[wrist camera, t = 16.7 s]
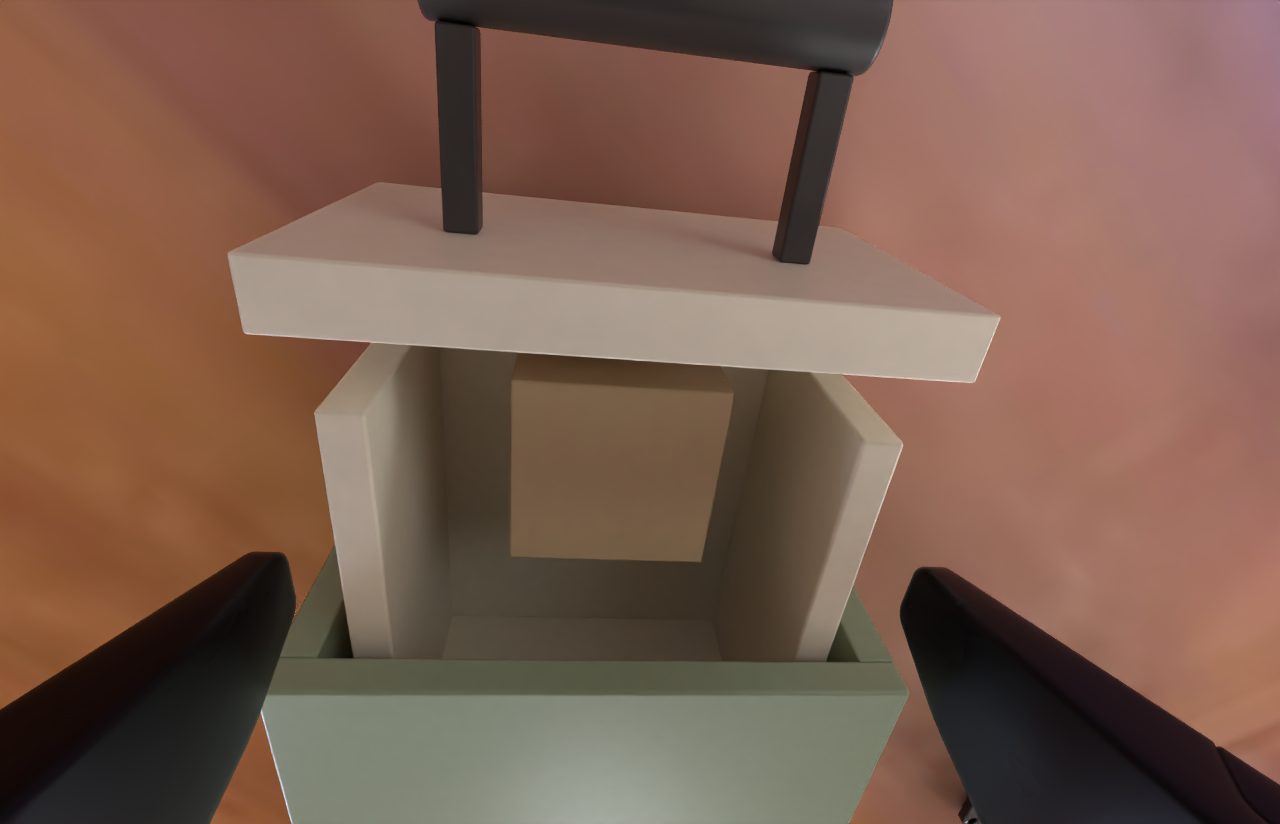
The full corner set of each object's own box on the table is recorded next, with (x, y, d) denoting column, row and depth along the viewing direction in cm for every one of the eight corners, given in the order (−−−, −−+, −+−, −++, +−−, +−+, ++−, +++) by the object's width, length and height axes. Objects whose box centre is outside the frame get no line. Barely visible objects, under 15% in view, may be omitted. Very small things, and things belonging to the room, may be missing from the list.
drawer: (355, -58, 12) (131, -197, 6) (895, 19, 13) (1142, -33, 8) (413, 606, 20) (343, 822, 14) (743, 612, 22) (804, 811, 16)
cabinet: (388, 444, 18) (252, 692, 11) (788, 463, 20) (912, 693, 12) (418, 745, 25) (346, 1028, 18) (715, 743, 27) (767, 1002, 19)
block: (676, 460, 17) (701, 563, 13) (525, 453, 17) (509, 558, 13) (699, 319, 15) (735, 394, 12) (529, 306, 15) (510, 380, 11)
